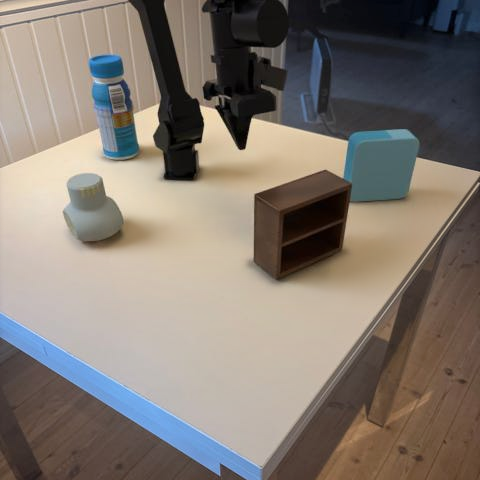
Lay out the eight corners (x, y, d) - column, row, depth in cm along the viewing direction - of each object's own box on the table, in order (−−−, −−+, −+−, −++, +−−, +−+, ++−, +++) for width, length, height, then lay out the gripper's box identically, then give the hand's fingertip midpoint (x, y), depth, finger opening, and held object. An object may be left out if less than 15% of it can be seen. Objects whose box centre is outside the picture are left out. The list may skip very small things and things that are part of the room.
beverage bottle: (98, 160, 110) (77, 63, 97) (110, 145, 116) (92, 52, 103) (134, 162, 109) (118, 64, 96) (144, 147, 115) (131, 53, 102)
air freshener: (130, 239, 85) (120, 186, 79) (84, 254, 82) (70, 199, 75) (107, 213, 92) (96, 162, 85) (64, 226, 89) (49, 174, 82)
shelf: (253, 261, 79) (254, 194, 71) (318, 234, 85) (325, 169, 77) (276, 279, 75) (279, 210, 67) (342, 250, 81) (352, 183, 73)
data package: (398, 188, 98) (412, 128, 90) (407, 198, 95) (421, 137, 87) (340, 192, 97) (349, 131, 89) (347, 203, 94) (356, 141, 86)
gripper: (307, 42, 69) (309, 153, 78) (257, 35, 84) (264, 129, 93) (233, 54, 66) (244, 167, 75) (195, 44, 81) (208, 140, 90)
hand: (241, 149), depth 83 cm, fingers closed
